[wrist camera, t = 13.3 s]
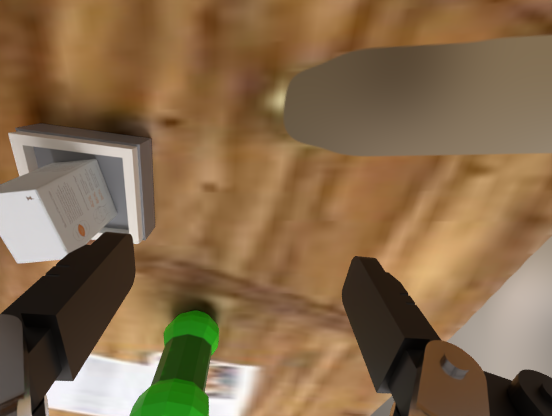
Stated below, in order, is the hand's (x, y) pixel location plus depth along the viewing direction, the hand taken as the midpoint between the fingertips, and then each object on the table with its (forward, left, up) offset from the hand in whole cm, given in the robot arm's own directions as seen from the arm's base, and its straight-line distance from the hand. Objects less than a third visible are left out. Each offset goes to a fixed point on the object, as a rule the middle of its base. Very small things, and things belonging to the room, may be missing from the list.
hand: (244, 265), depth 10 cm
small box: (+10, -21, -26) cm, 35 cm away
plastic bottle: (+37, -7, -30) cm, 48 cm away
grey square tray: (+10, -21, -30) cm, 38 cm away
